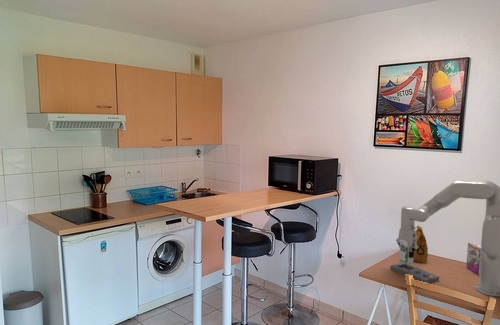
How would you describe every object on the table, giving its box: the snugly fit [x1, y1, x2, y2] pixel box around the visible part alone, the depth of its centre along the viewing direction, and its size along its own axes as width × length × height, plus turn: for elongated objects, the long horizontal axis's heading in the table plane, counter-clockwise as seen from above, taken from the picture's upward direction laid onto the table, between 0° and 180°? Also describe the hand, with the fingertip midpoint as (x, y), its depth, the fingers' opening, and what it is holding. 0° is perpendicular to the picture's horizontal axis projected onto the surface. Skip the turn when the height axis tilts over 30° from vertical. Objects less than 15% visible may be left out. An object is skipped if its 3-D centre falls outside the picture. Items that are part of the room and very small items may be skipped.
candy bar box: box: [466, 242, 482, 276], centre depth 207 cm, size 11×5×16 cm, turn 1°
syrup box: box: [399, 239, 414, 265], centre depth 206 cm, size 6×6×14 cm
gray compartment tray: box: [390, 262, 440, 284], centre depth 202 cm, size 24×12×3 cm, turn 26°
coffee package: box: [413, 225, 429, 264], centre depth 225 cm, size 10×12×22 cm
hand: (406, 255), depth 206 cm, fingers closed on syrup box, 6 cm apart
